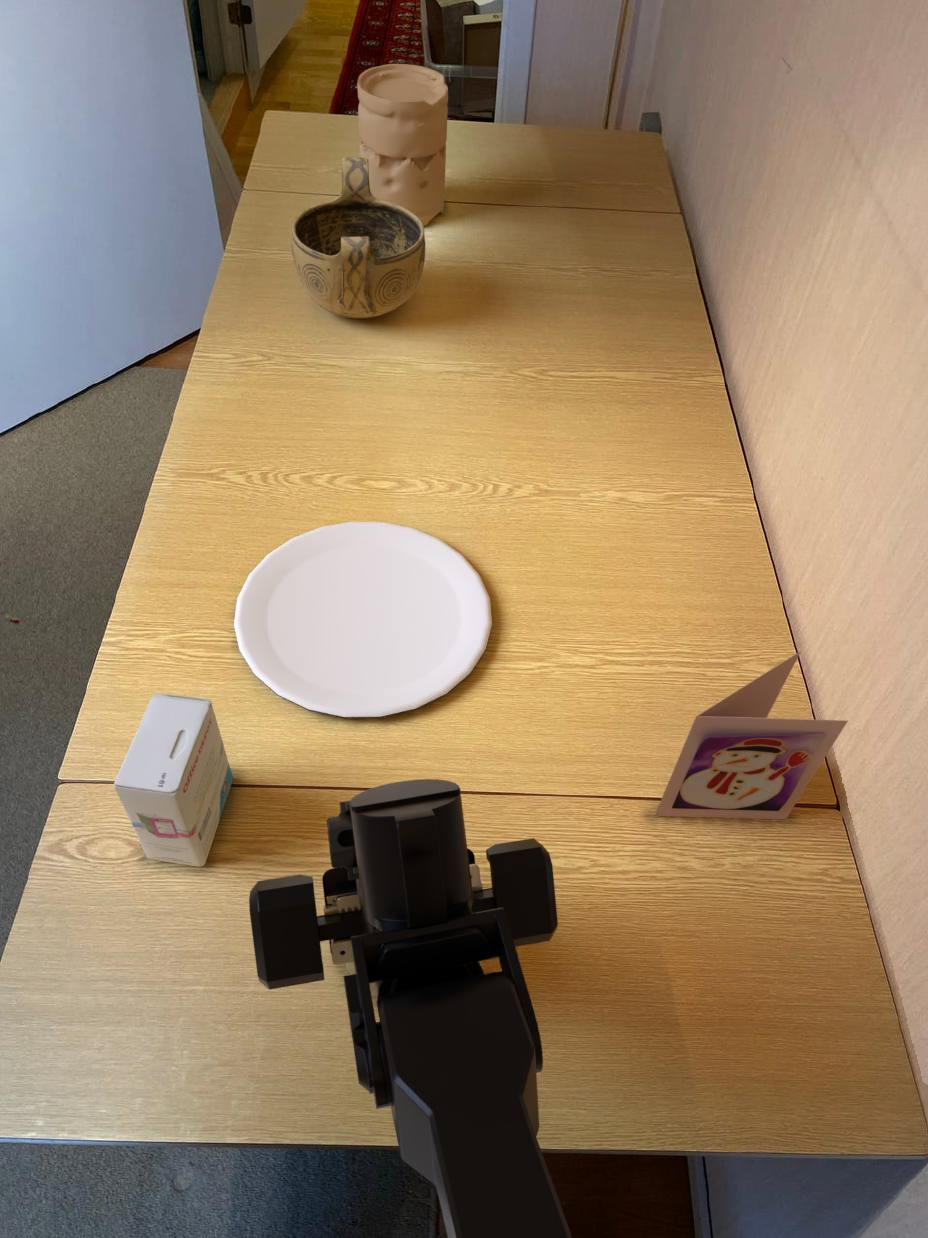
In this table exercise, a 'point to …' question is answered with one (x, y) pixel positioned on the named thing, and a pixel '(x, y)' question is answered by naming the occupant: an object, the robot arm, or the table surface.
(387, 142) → the container
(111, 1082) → the table surface
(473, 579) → the plate
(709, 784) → the greeting card
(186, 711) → the ink box
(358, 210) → the ceramic bowl
